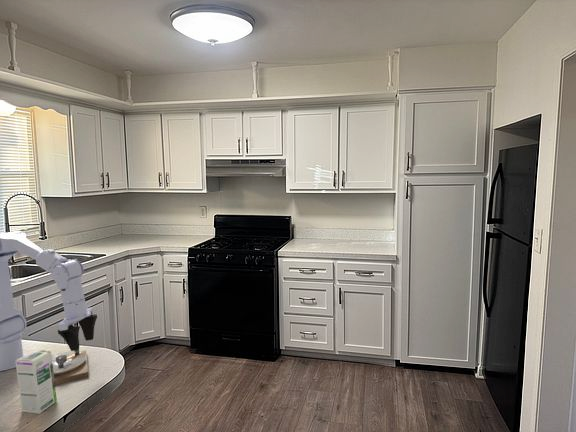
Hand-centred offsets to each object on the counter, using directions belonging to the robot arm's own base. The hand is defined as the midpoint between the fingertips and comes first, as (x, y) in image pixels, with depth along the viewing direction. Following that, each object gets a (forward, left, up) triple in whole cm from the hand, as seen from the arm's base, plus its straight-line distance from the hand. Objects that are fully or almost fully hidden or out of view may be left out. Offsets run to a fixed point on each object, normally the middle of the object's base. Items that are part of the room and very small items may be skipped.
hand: (82, 344), depth 116 cm
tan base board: (-8, -6, -10) cm, 15 cm away
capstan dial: (-8, -6, -9) cm, 14 cm away
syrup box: (+11, -11, -11) cm, 19 cm away
